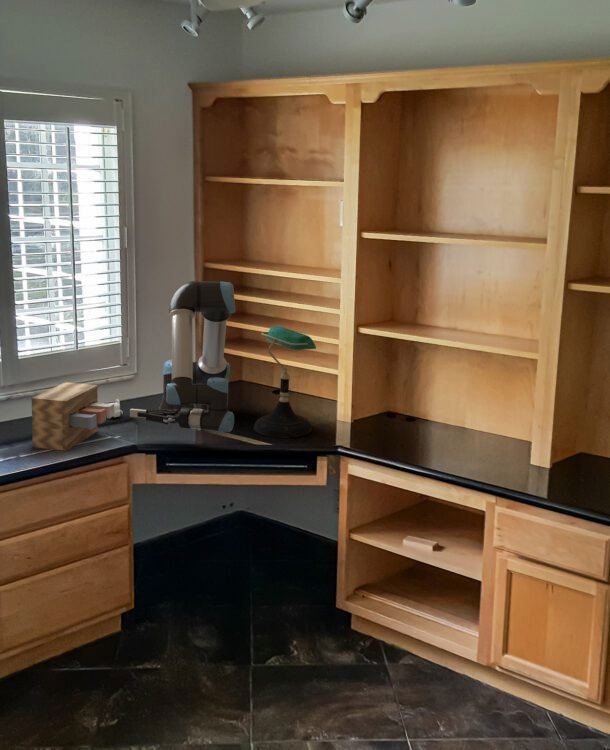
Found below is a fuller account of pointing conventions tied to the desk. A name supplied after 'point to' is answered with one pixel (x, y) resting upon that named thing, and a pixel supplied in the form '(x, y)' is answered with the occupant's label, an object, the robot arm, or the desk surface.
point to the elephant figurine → (115, 408)
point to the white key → (108, 408)
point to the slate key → (82, 420)
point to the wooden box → (61, 415)
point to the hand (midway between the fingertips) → (130, 412)
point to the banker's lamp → (285, 390)
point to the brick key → (99, 413)
